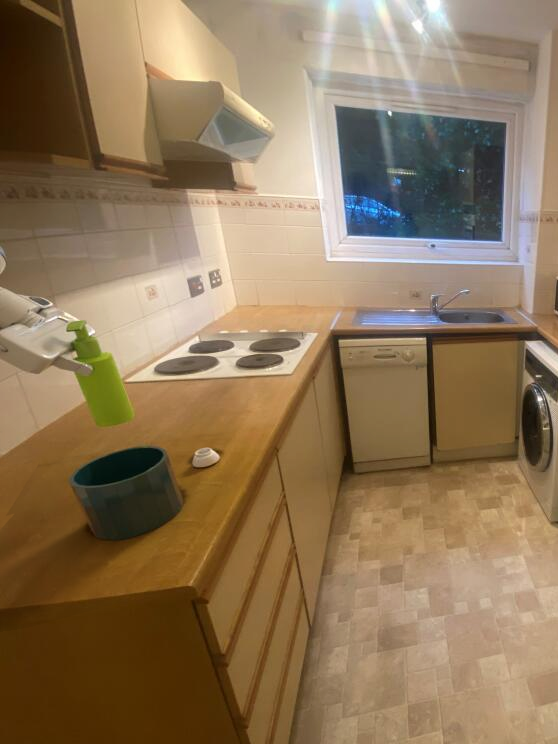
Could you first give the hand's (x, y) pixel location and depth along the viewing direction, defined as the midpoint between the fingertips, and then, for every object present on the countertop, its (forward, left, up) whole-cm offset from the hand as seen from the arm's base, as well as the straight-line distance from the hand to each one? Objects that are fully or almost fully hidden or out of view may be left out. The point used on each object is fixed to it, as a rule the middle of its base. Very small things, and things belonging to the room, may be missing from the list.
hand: (99, 365), depth 82 cm
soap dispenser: (-1, 0, -12) cm, 12 cm away
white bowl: (+11, +2, -26) cm, 28 cm away
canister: (+3, -14, -25) cm, 29 cm away
